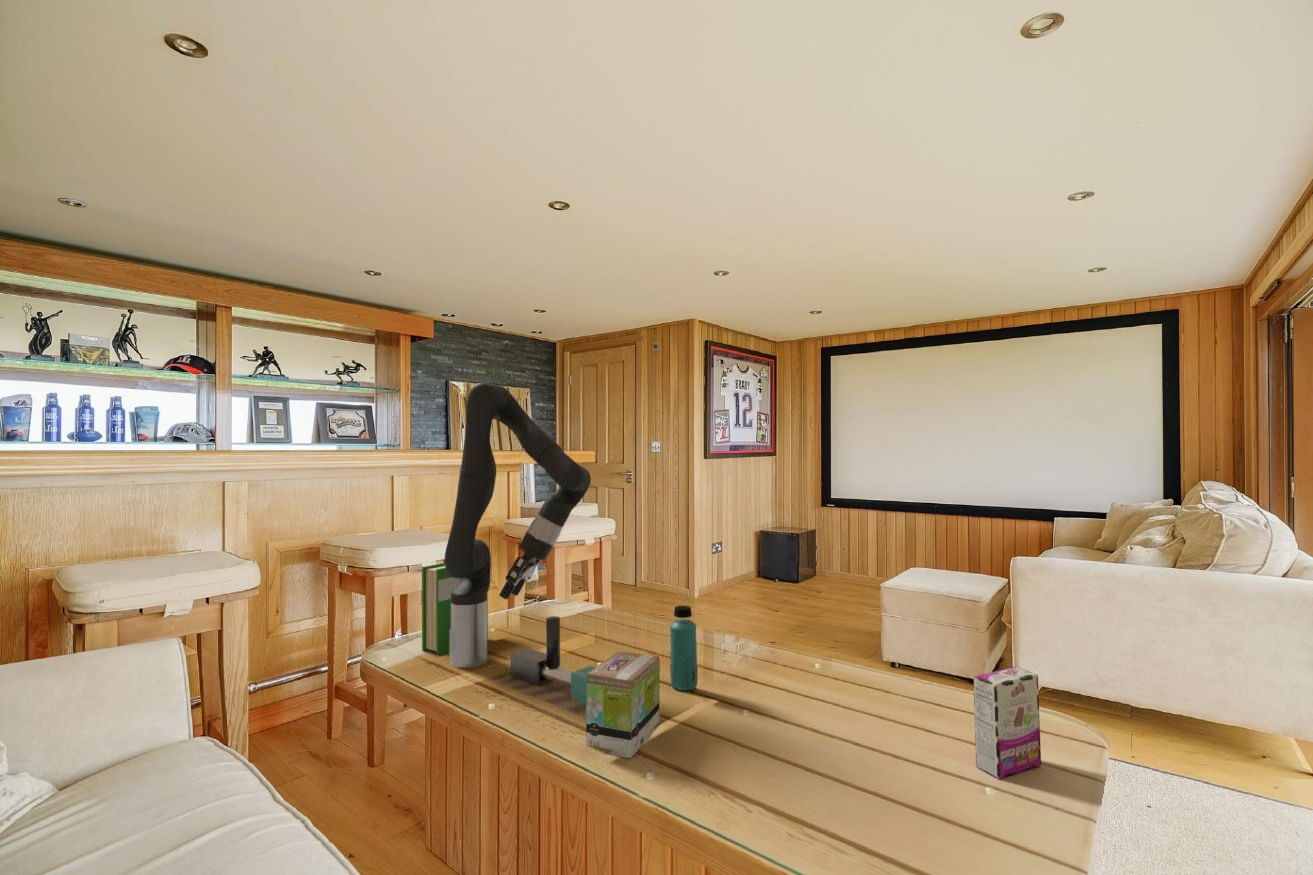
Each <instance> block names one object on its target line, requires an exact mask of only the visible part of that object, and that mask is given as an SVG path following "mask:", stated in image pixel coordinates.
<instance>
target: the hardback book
mask: <svg viewBox="0 0 1313 875" xmlns="http://www.w3.org/2000/svg"><path fill="white" fill-rule="evenodd" d="M459 581H460V578H453V577H452V576H450V575H449V573H448V572H447V570H446V567H445V562H441V563H436V564H431V565H425V566H422V567H421V651H422V652H426V651H427V652H428V651H433V652H436V656H441V655H444V654H447V653H449V631H450V629H451V592H452V591H453V590H454V589H455V587H456V586H457V585H458V583H459ZM488 597H489V596H488V593H487V640H488V639H489V636H488V635H489V633H488V625H489V624H488V623H489V621H488V620H489V618H488V617H489V609H488V607H489V606H488V604H489V601H488V600H489V599H488Z"/></svg>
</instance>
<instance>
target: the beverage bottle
mask: <svg viewBox="0 0 1313 875" xmlns="http://www.w3.org/2000/svg"><path fill="white" fill-rule="evenodd" d="M673 613H674V614H673V616H674V617H675V618H679V619H675V620H674V621H672V623H670V626H669V628H670V630H669V632H670V634H669V635H670V638H669V639H670V641H669V642H670V651H669V655H670V656H669V657H670V664H669V666H670V668H669V669H670V670H669V671H670V672H669V673H670V681H669V682H670V685H671V687H672V688H673V689H674V690H677V691H678V690H679V691H691V690H694V689H696V688H697V687H698V686H697V685H698V684H699V683H698V679H699V678H698V675H699V674H698V668H699V667H698V654H697V653H698V652H697V650H698V649H697V647H698V646H697V644H698V642H697V624H696V623H695V622H694V621H693V620H691V619H688V618H690V617H692V607H691V606H689V605H676V606H675V607H674V612H673Z"/></svg>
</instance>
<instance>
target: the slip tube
mask: <svg viewBox="0 0 1313 875" xmlns="http://www.w3.org/2000/svg"><path fill="white" fill-rule="evenodd" d="M545 624H546V625H545V626H546V627H545V628H546V632H545V633H546V643H545V644H546V654H547V663H546V662H545V663H542V664H540V677H543V678H546V679H548V680H551V681H554V682H557V683H560V684H562V685H565V686H568V687H571V673H572V672H574V671H573V670H569V669H567V668H564V667H561V617H560V616H557V615H555V616H548V617H546V623H545Z"/></svg>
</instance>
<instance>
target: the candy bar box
mask: <svg viewBox="0 0 1313 875" xmlns="http://www.w3.org/2000/svg"><path fill="white" fill-rule="evenodd" d="M972 679H973V680H972V681H973V704H974V706H973V707H974V708H973V709H974V733H975V734H974V736H975V738H974V739H975V762H976V764H975V766H976V768H978V769H979V770H981V771H983V772H985V773H986V774H988V775H991V776H993V777H994V778H996V779H997V780H1001V779H1005V778H1008V777H1011V776H1013V775H1014V776H1015V775H1017V774H1020V773H1023V772H1025V771H1029V770H1031V769H1032V770H1033V769H1035V768H1038V767H1040V766H1042V757H1041V756H1042V754H1041V753H1042V752H1041V729H1040V728H1041V726H1040V699H1039V698H1040V697H1039V675H1038V674H1037V673H1034V672H1031V671H1028V670H1026V669H1022V668H1021V667H1017V666H1012V667H1008V668H1004V669H1001V670H996V671H991V672H986V673H982V674H978V675H974V676H972Z"/></svg>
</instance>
